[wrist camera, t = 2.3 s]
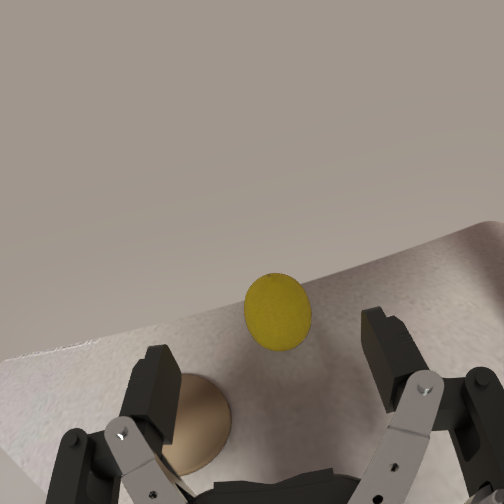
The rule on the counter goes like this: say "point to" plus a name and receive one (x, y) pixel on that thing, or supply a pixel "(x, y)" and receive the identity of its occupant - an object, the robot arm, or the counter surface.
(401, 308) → the counter surface
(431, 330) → the counter surface
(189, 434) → the walnut board
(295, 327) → the lemon
